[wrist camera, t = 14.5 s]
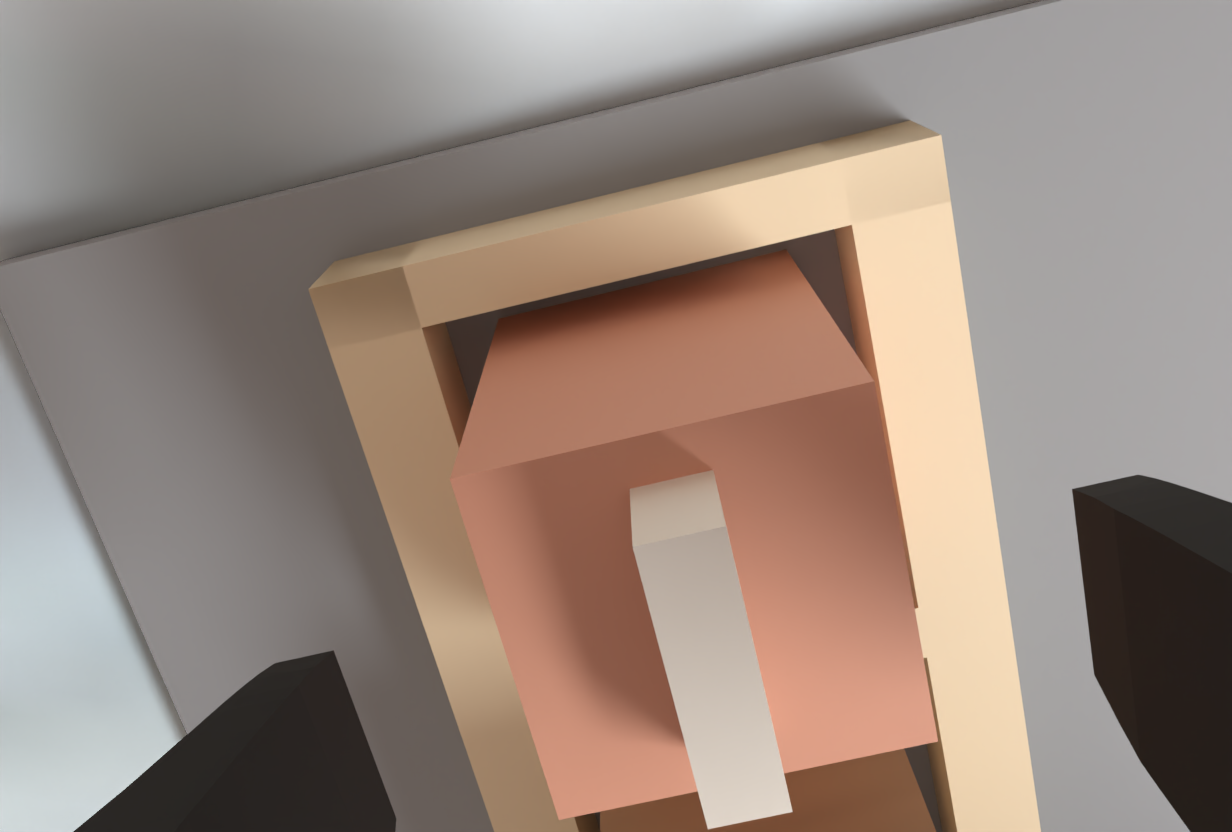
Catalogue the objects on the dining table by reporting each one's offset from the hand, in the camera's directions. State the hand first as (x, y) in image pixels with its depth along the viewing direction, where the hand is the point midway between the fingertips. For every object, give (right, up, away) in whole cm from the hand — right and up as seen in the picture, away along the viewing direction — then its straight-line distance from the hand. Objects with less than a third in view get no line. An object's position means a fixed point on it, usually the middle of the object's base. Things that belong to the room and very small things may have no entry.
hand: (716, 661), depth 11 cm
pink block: (0, +2, +5) cm, 6 cm away
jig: (+1, -2, +8) cm, 8 cm away
